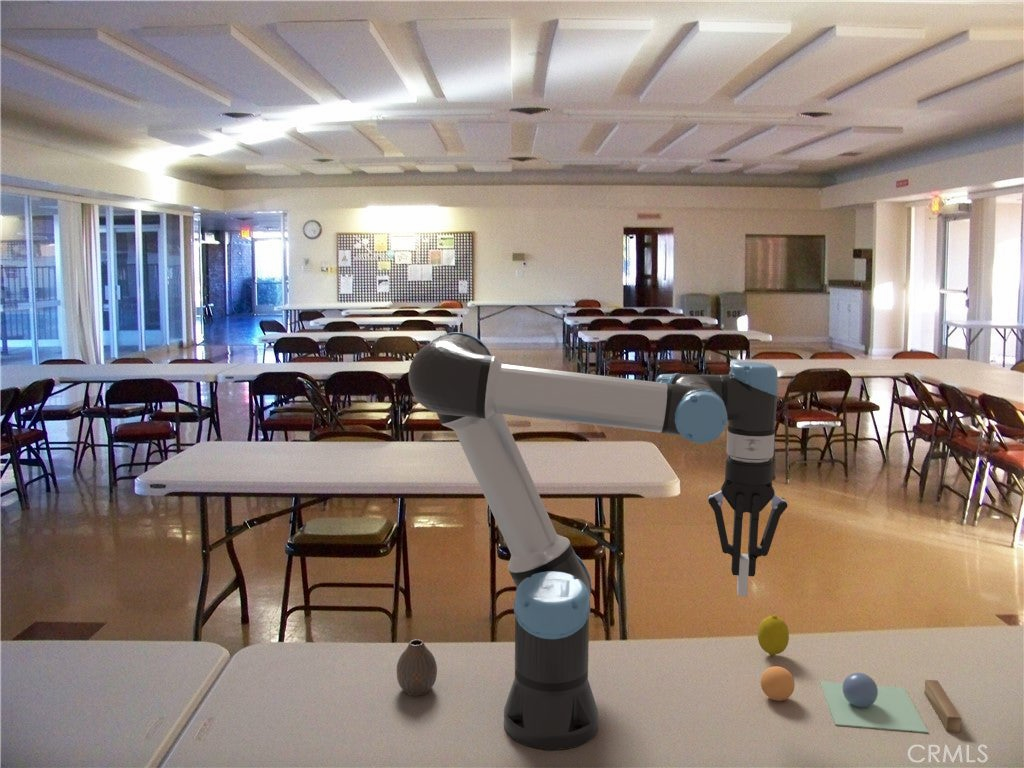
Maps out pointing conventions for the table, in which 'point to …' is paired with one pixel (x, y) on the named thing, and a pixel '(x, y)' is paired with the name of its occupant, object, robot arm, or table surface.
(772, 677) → the ball
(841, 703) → the mark
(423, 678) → the vase
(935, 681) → the rail
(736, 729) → the table surface
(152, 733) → the table surface
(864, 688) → the ball
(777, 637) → the lemon
